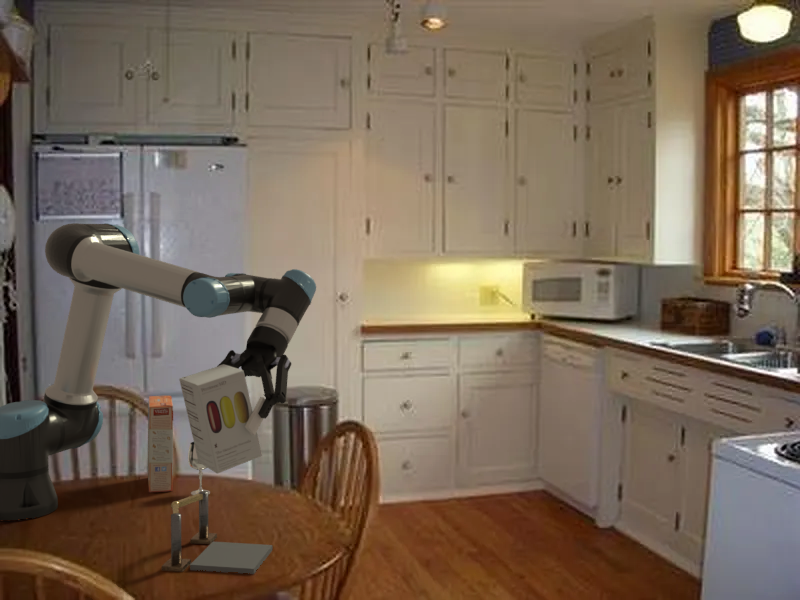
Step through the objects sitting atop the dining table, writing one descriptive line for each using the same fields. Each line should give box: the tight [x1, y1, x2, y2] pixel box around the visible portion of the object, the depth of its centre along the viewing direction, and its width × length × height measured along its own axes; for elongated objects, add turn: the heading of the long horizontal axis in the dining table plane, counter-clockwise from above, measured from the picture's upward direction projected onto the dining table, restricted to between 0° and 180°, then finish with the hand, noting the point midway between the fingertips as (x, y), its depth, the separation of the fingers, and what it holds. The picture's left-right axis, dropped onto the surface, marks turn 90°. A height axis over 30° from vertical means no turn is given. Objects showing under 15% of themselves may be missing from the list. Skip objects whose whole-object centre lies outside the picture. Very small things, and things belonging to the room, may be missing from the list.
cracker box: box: [147, 395, 174, 493], centre depth 207 cm, size 14×6×21 cm, turn 17°
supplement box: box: [178, 364, 263, 474], centre depth 156 cm, size 10×9×17 cm
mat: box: [189, 541, 273, 575], centre depth 160 cm, size 12×12×1 cm
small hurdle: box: [161, 490, 218, 573], centre depth 163 cm, size 6×18×10 cm, turn 173°
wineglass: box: [187, 441, 211, 496], centre depth 201 cm, size 6×6×12 cm
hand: (222, 427), depth 156 cm, fingers closed on supplement box, 12 cm apart
